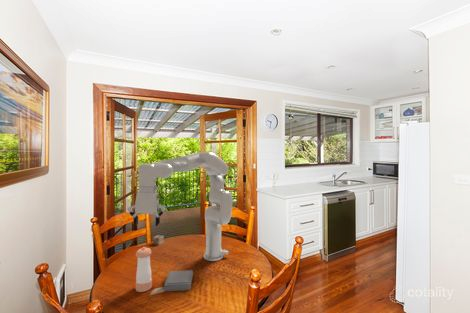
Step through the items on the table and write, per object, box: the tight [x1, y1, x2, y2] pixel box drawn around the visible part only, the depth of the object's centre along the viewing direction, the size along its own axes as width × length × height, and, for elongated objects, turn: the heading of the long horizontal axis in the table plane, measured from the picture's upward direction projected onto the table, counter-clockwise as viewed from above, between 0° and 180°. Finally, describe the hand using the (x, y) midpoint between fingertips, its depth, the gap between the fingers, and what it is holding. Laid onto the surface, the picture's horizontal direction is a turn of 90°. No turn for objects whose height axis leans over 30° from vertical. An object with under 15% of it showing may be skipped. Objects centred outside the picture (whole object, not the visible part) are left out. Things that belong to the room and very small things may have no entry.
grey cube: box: [152, 234, 165, 246], centre depth 156 cm, size 5×5×5 cm
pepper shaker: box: [135, 246, 153, 293], centre depth 104 cm, size 7×7×19 cm
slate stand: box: [163, 269, 194, 292], centre depth 108 cm, size 12×12×3 cm
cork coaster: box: [149, 286, 166, 296], centre depth 101 cm, size 8×8×1 cm
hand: (146, 225), depth 104 cm, fingers open, 9 cm apart
